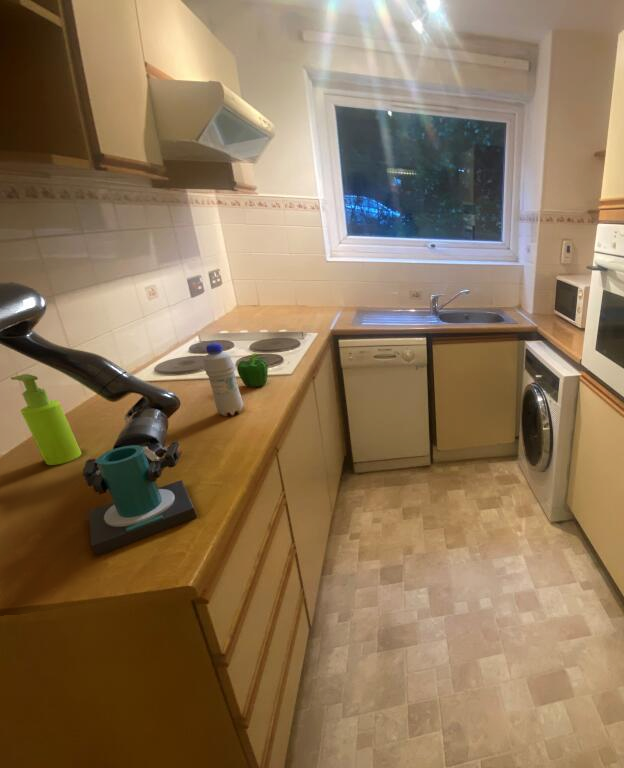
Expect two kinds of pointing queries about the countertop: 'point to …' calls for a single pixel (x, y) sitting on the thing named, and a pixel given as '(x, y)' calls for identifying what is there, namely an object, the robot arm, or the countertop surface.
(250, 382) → the bell pepper
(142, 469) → the jar
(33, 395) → the soap dispenser
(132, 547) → the countertop surface
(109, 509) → the scale
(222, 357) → the bottle
